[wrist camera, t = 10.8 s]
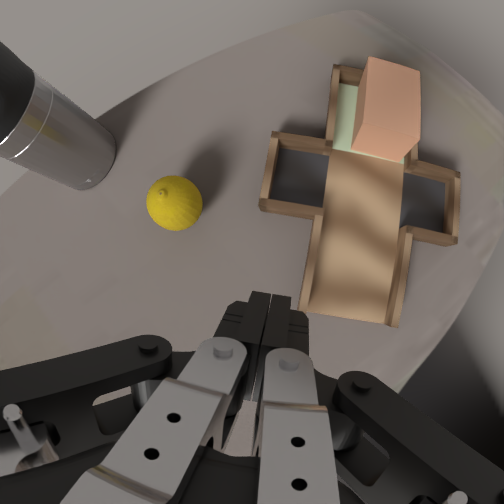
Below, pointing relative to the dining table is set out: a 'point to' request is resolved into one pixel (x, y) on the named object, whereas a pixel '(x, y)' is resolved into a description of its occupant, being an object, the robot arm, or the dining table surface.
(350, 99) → the pad
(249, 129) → the dining table surface
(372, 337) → the dining table surface
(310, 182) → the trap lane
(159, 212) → the lemon
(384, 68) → the block
